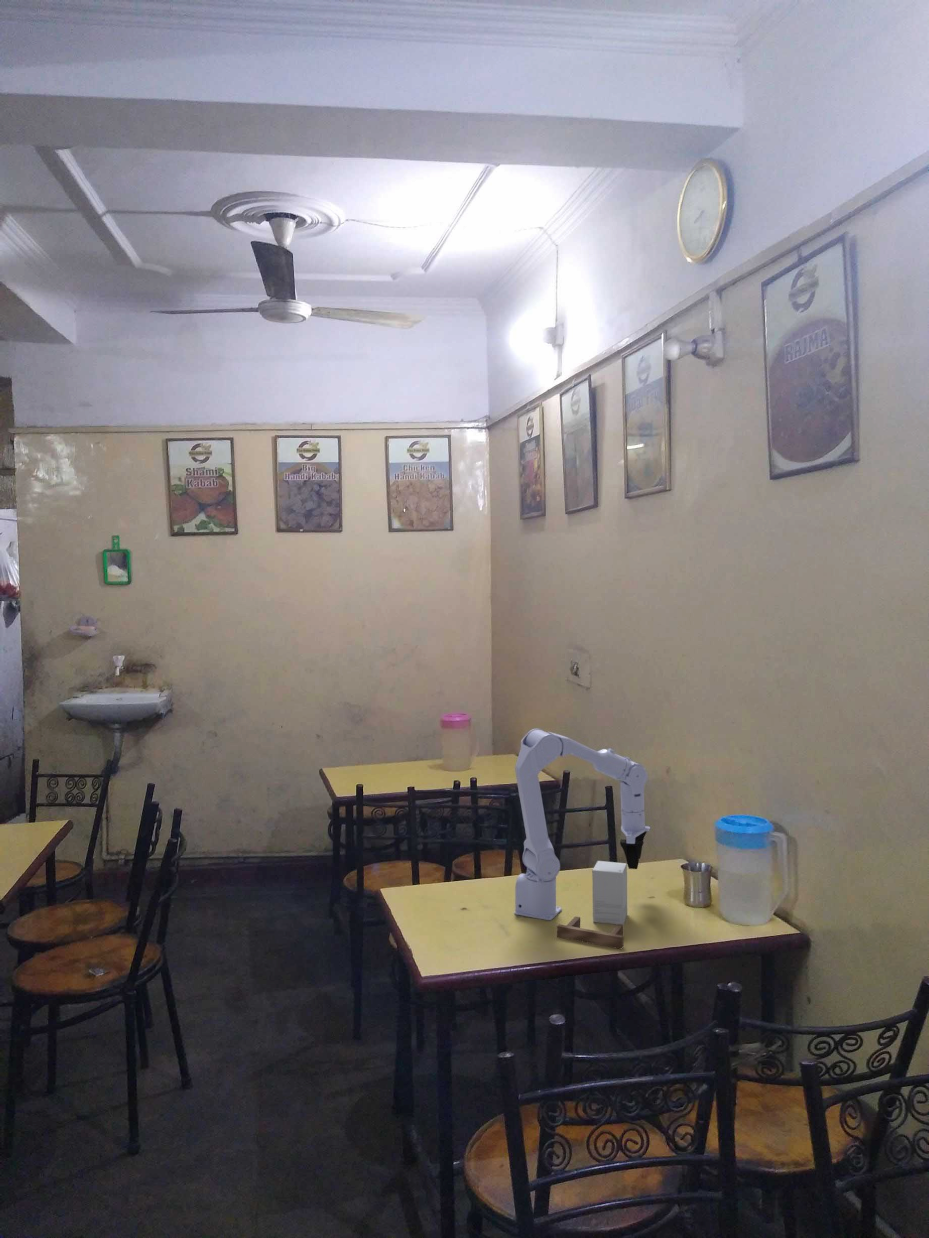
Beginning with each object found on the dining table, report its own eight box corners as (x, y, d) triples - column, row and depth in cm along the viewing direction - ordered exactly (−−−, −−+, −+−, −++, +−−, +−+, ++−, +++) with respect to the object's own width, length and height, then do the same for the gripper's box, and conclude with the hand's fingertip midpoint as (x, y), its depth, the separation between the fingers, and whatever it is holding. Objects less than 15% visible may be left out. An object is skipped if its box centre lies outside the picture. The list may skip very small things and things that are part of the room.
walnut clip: (557, 936, 202) (557, 925, 202) (567, 925, 208) (567, 914, 208) (621, 948, 195) (621, 937, 195) (631, 936, 202) (631, 925, 201)
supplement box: (628, 914, 215) (628, 862, 214) (623, 926, 208) (623, 872, 207) (597, 910, 217) (597, 859, 217) (591, 922, 210) (591, 869, 210)
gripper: (646, 818, 214) (648, 874, 215) (651, 802, 228) (653, 854, 229) (617, 817, 216) (618, 872, 217) (623, 801, 230) (625, 853, 231)
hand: (634, 863), depth 223 cm, fingers open, 7 cm apart
